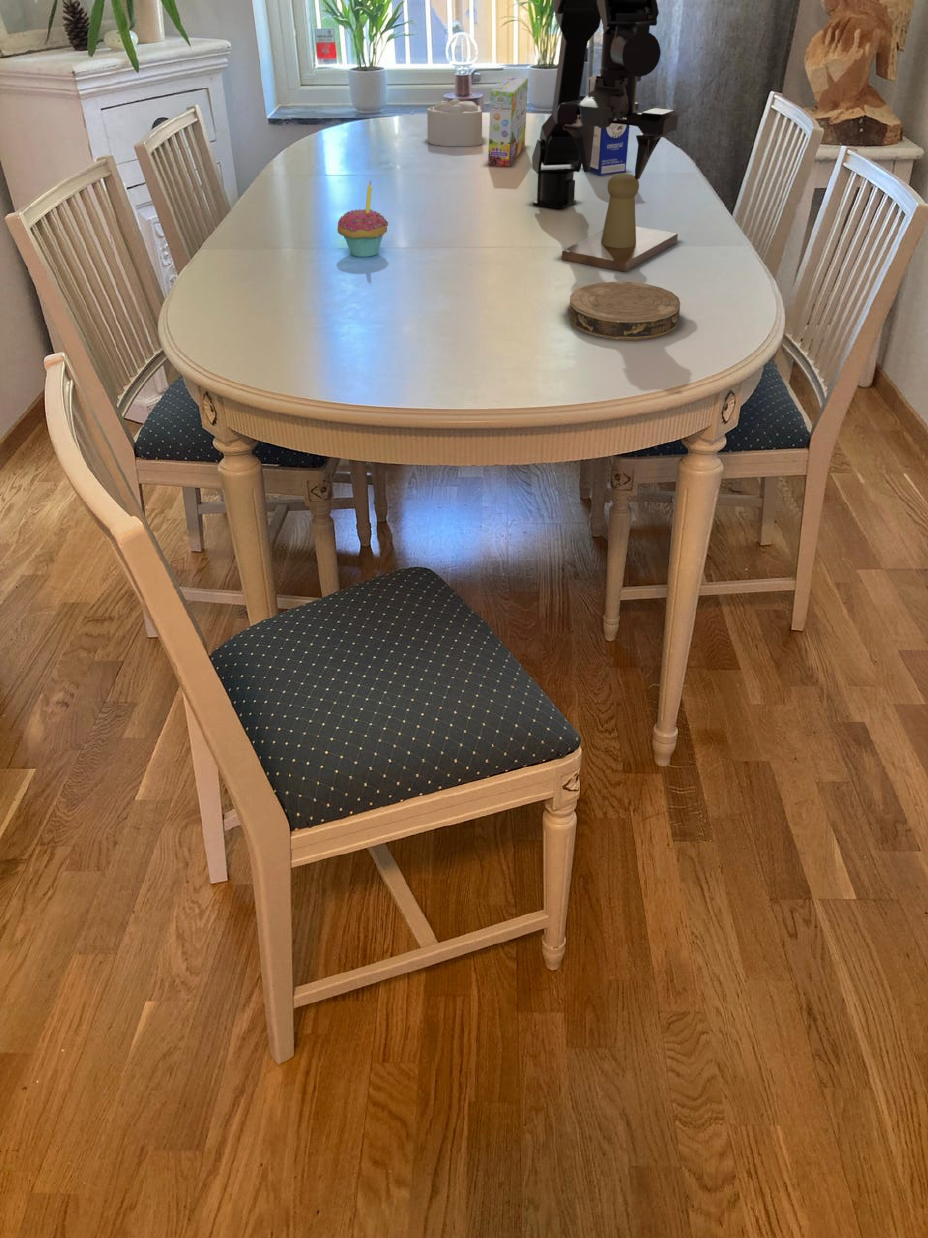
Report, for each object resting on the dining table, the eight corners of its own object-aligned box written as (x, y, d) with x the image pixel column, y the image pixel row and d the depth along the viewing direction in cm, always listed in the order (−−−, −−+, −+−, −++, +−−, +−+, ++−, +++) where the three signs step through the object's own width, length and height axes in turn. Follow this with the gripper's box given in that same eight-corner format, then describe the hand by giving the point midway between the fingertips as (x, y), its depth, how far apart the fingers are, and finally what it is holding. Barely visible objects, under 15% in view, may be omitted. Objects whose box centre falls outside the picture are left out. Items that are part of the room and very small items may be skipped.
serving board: (561, 259, 176) (561, 250, 175) (616, 231, 189) (617, 222, 188) (624, 271, 170) (625, 262, 169) (677, 242, 183) (678, 233, 183)
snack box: (512, 167, 229) (513, 91, 220) (487, 166, 230) (488, 90, 221) (526, 146, 246) (529, 75, 237) (503, 145, 247) (504, 74, 238)
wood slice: (602, 346, 144) (604, 325, 142) (549, 310, 156) (550, 290, 154) (699, 329, 149) (702, 309, 147) (641, 295, 161) (643, 276, 159)
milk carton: (599, 175, 223) (606, 71, 211) (582, 168, 228) (588, 66, 216) (626, 171, 225) (635, 68, 214) (609, 165, 230) (616, 64, 219)
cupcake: (396, 248, 181) (393, 175, 174) (377, 262, 174) (373, 187, 167) (351, 243, 183) (346, 171, 176) (330, 257, 177) (324, 183, 170)
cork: (597, 237, 180) (602, 170, 174) (631, 236, 181) (638, 169, 174) (604, 248, 175) (609, 179, 169) (639, 247, 176) (646, 178, 169)
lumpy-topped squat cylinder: (482, 145, 247) (482, 105, 242) (427, 146, 246) (427, 106, 241) (480, 136, 255) (480, 97, 250) (427, 137, 255) (426, 98, 250)
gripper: (540, 68, 157) (536, 177, 166) (652, 78, 149) (641, 193, 158) (575, 60, 165) (570, 165, 174) (684, 69, 156) (672, 178, 165)
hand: (611, 175), depth 168 cm, fingers open, 9 cm apart
